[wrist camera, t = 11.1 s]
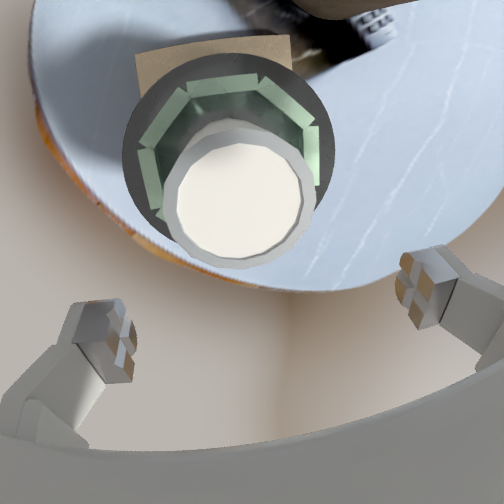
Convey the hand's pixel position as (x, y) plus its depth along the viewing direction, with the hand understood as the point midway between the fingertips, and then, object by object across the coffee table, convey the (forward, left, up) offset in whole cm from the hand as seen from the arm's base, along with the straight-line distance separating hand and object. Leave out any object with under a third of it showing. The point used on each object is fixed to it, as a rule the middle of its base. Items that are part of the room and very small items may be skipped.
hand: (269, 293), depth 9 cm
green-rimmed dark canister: (0, 0, -25) cm, 25 cm away
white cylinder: (0, 0, -13) cm, 13 cm away
